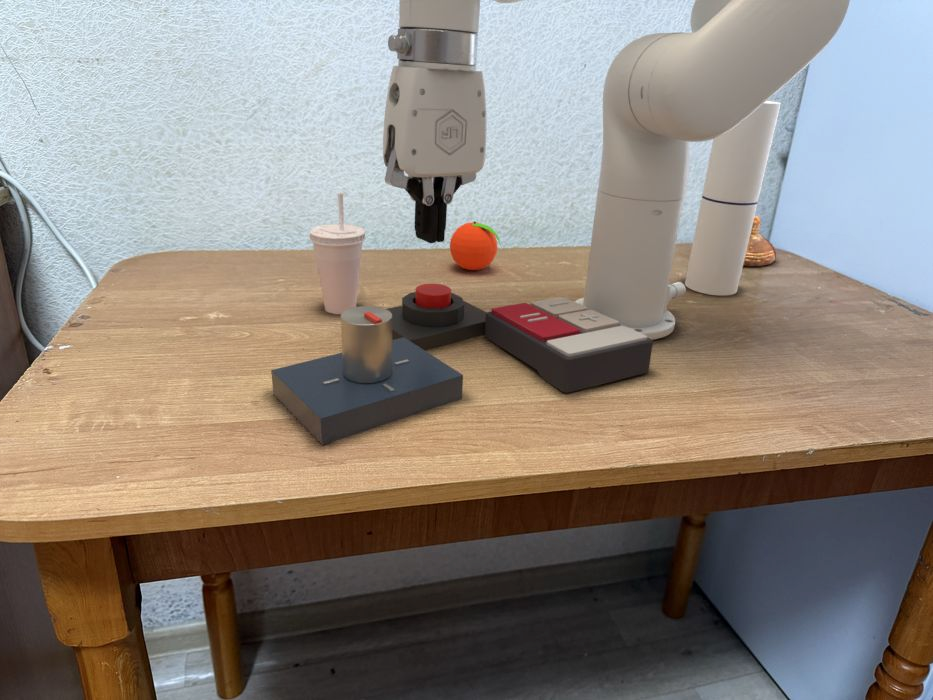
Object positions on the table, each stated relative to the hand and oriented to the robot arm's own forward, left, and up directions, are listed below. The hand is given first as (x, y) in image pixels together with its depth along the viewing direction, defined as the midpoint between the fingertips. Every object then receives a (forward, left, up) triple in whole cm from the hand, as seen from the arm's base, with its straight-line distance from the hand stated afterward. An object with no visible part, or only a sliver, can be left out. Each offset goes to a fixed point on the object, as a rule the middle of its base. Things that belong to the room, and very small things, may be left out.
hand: (429, 239), depth 69 cm
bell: (-61, +1, -11) cm, 62 cm away
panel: (+14, +10, -11) cm, 20 cm away
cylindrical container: (-43, +8, -11) cm, 46 cm away
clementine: (-18, -15, -11) cm, 26 cm away
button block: (0, 0, -11) cm, 11 cm away
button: (0, 0, -8) cm, 7 cm away
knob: (+14, +10, -8) cm, 19 cm away
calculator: (-8, +13, -11) cm, 19 cm away
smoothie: (+6, -11, -11) cm, 16 cm away
